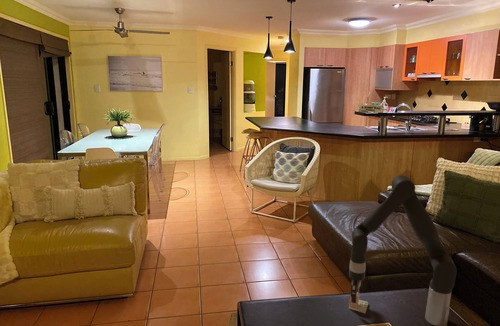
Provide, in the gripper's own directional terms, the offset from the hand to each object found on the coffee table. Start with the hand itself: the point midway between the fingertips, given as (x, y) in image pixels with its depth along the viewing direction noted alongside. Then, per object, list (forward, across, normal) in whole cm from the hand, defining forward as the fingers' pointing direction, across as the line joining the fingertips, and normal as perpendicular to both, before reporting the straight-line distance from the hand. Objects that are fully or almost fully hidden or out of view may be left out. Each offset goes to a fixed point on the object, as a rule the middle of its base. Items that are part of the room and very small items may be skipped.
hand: (355, 297), depth 180 cm
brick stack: (+4, 0, 0) cm, 4 cm away
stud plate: (+6, +2, -2) cm, 6 cm away
